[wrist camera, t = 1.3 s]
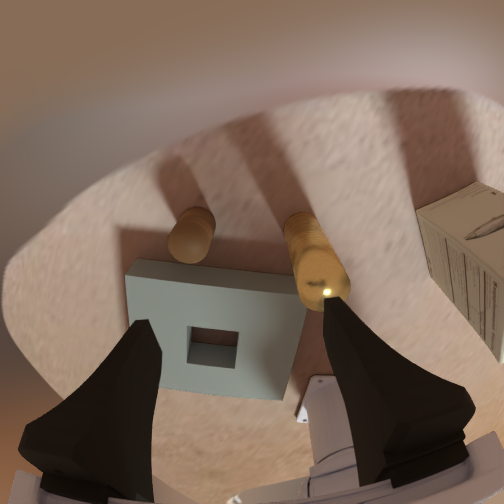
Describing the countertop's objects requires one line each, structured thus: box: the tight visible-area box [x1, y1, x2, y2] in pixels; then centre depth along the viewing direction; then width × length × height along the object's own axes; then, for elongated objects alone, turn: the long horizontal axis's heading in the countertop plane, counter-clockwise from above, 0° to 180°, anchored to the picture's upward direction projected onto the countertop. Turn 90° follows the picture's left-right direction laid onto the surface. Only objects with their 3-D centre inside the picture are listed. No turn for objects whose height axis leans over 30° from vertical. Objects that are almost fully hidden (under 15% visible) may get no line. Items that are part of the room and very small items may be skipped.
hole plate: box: [125, 258, 308, 401], centre depth 27 cm, size 14×12×3 cm
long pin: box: [284, 213, 351, 312], centre depth 21 cm, size 3×3×9 cm
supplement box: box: [416, 181, 504, 364], centre depth 19 cm, size 7×7×13 cm
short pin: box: [167, 207, 216, 264], centre depth 23 cm, size 3×3×4 cm
